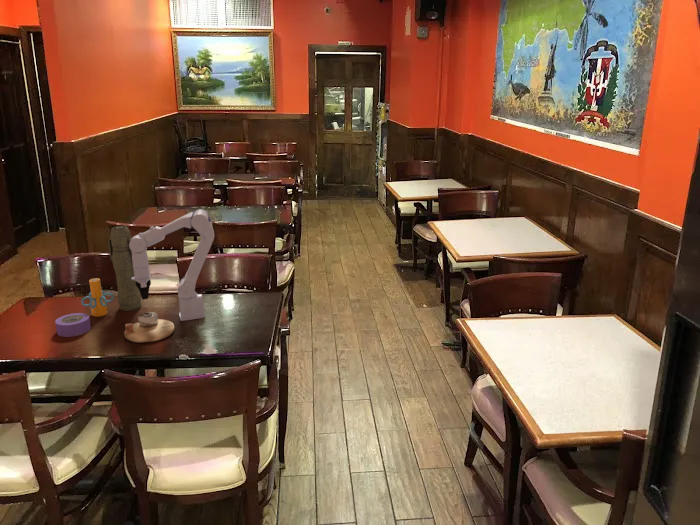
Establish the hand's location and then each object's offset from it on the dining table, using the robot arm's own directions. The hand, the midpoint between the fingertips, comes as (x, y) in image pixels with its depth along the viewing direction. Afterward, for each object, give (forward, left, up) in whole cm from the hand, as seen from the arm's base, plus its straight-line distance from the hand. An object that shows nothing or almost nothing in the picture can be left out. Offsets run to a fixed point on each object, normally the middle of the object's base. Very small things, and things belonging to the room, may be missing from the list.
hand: (145, 298), depth 224 cm
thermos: (+6, -17, -9) cm, 20 cm away
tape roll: (+27, -1, -10) cm, 29 cm away
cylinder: (+18, -14, -9) cm, 25 cm away
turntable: (0, +13, -9) cm, 16 cm away
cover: (0, +8, -8) cm, 11 cm away
